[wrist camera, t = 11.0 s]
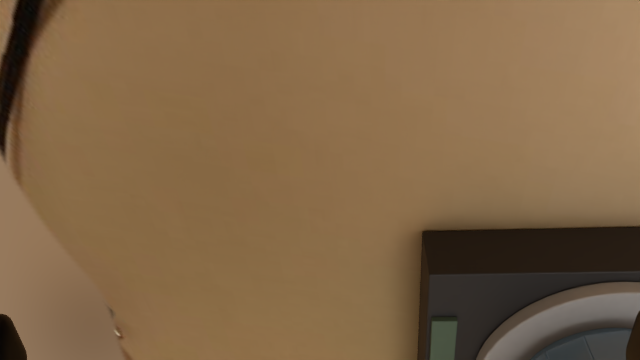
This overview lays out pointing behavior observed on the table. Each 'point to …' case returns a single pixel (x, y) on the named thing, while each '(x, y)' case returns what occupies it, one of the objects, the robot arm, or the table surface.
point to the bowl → (588, 346)
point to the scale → (523, 289)
